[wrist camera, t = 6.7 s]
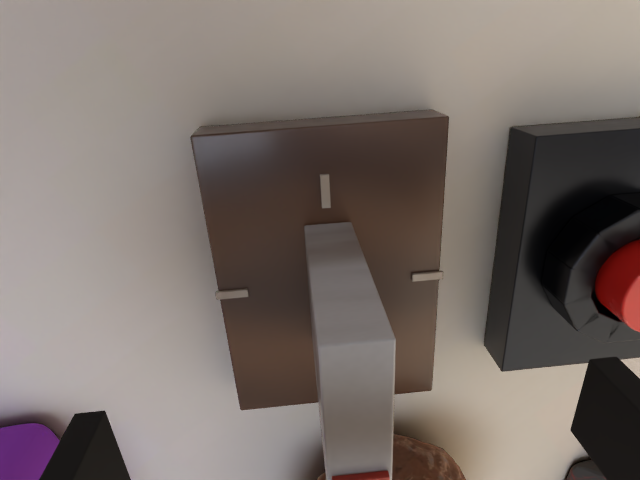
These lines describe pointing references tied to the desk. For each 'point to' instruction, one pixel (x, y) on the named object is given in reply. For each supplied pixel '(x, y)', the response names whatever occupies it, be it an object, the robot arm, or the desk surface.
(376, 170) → the panel
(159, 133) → the desk surface
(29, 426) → the toy camera
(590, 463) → the dark grey rounded block
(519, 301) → the button block
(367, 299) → the tap handle
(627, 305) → the button
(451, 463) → the decorative rock
